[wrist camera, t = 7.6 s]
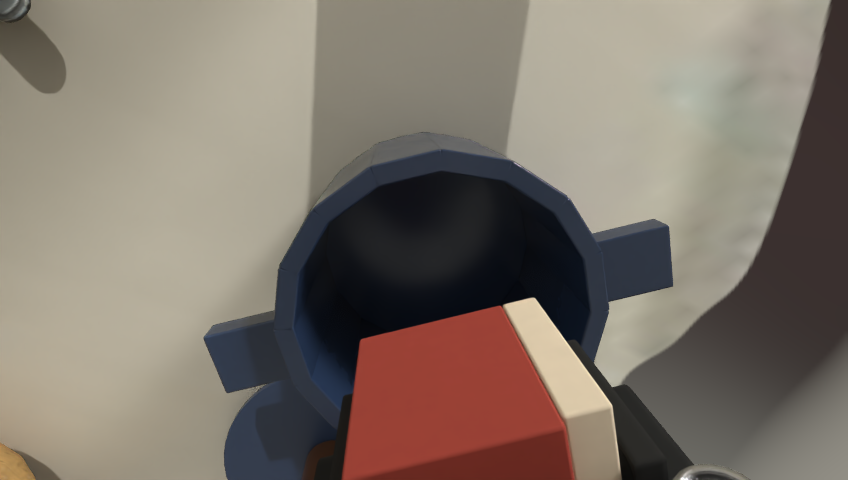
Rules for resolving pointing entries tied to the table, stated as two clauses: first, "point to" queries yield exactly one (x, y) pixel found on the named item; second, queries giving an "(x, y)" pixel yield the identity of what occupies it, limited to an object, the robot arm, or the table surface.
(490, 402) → the meat
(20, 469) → the potato
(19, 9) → the salad plate
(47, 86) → the table surface
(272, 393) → the lid
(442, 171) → the pot
